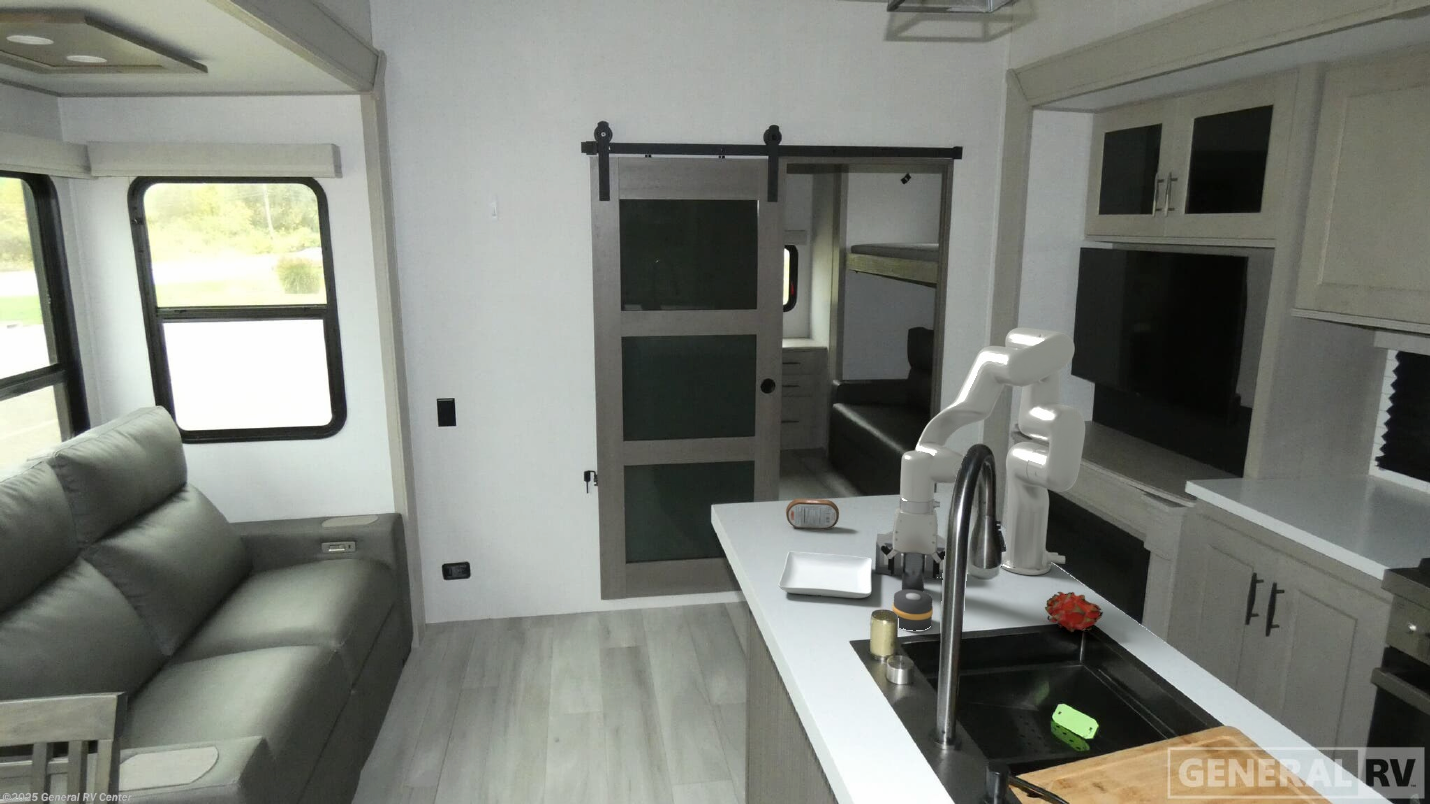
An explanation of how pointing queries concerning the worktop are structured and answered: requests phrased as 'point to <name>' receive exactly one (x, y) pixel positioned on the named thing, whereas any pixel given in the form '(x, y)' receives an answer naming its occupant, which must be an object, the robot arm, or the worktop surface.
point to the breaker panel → (882, 561)
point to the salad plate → (827, 575)
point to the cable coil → (913, 609)
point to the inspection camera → (913, 571)
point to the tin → (812, 513)
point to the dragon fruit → (1072, 611)
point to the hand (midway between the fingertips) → (913, 574)
